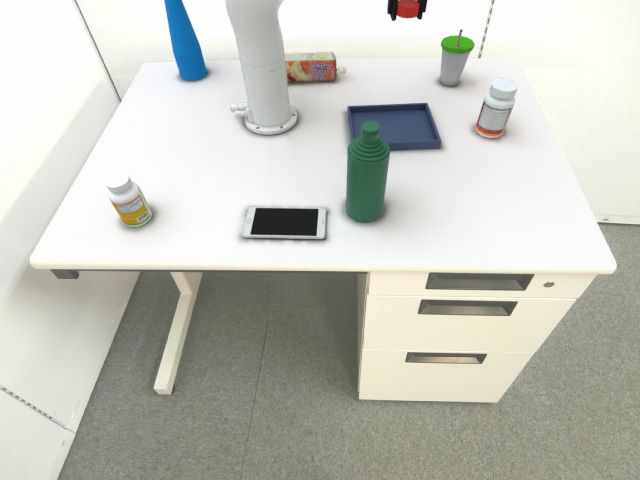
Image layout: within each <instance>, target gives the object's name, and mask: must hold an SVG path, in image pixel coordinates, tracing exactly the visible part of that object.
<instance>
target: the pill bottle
mask: <svg viewBox="0 0 640 480" xmlns="http://www.w3.org/2000/svg"><path fill="white" fill-rule="evenodd" d="M518 88H519V87H518V83H516V82H515V81H513V80H511V79H508V78H496V79H494V80H493V81H492V82H491V84H490V88H489V91H488V92H487V93H486V94H485V96H484V98H483V102H482V105H481V107H480V111H479V115H478V118H477V121H476V124H475V132H476V133H477V134H478V135H480V136H481V137H483V138H486V139H496V138H499V137H502V135H503V134H504V132H505V129H506V127H507V125H508V121H509V119H510V117H511V114H512V110H513V108H514V106H515V103H516V98H515V96H516V93H517V90H518Z"/></svg>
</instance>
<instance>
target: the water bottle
mask: <svg viewBox="0 0 640 480" xmlns="http://www.w3.org/2000/svg"><path fill="white" fill-rule="evenodd" d="M379 132H380V126H379V124H378V123H377V122H374V121H367V122H364V123H363V124H362V126H361V136H359V137H357V138H355V139H354V140H353V141H352V142H351V141H350V143H349V144H348V146H347V153H346V154H347V155H346V190H345V191H346V193H345V212H346V214H347V216H348V217H349V218H350V219H351V220H353V221H355V222H357V223H361V224H369V223H373V222H376V221H377V220H379V219H380V218H381V216H382V215H383V212H384V206H385V205H384V203H385V196H386V188H387V182H388V181H387V179H388V173H389V167H390V166H389V165H390V164H389V163H390V158H391V151H390V147H389V145H388V143H387V142H386V141H385V140H383V139H382V138H381V137H379Z"/></svg>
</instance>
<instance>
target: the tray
mask: <svg viewBox="0 0 640 480" xmlns="http://www.w3.org/2000/svg"><path fill="white" fill-rule="evenodd" d="M346 114H347V123H348V131H349V139H350V143H351V142H352V141H353V140H354V139H355V138H357V137H359V136H361V126H362V124H363V123H364V122H367V121H374V122H377V123H378V124H379V126H380V132H379V137H381V138H382V139H383V140H385V141H386V142H387V143H388V145H389V147H390V152H391V151H413V150H438V149H440V148H441V144H442V139H441V136H440V134H439V131H438V128H437V125H436V123H435V120H434V116H433V114H432V111H431V109H430V106H429V104H428V102H414V103H413V102H412V103H411V102H410V103H392V104H391V103H388V104H386V103H385V104H366V105H365V104H364V105H347V106H346Z"/></svg>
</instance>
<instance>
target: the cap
mask: <svg viewBox="0 0 640 480" xmlns="http://www.w3.org/2000/svg"><path fill="white" fill-rule="evenodd" d="M419 6H420V3H419V2H418V1H417V0H398V7H397V16H396V17H398V18H402V19H414V18H415V19H416V18H417V16H418V12H419Z"/></svg>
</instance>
